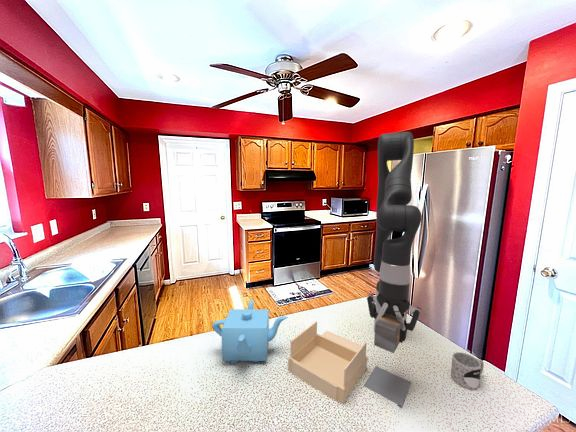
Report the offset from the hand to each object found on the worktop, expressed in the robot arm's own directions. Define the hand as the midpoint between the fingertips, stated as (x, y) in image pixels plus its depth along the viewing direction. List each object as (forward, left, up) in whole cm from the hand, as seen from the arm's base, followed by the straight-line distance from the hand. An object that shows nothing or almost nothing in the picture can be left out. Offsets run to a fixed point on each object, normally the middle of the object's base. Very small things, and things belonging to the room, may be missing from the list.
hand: (390, 336), depth 67 cm
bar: (0, 0, 0) cm, 0 cm away
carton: (+4, -16, -15) cm, 22 cm away
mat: (0, 0, -15) cm, 15 cm away
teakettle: (+16, -40, -15) cm, 46 cm away
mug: (-18, +18, -15) cm, 30 cm away
